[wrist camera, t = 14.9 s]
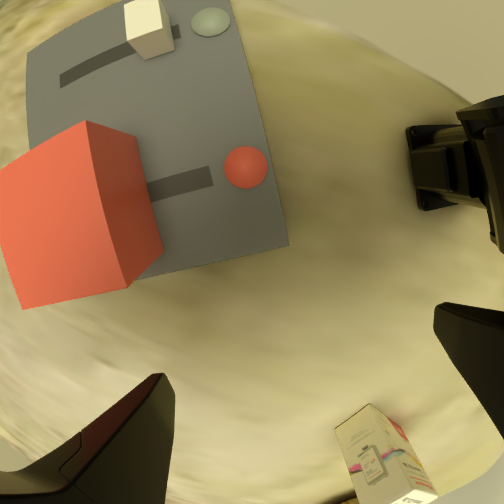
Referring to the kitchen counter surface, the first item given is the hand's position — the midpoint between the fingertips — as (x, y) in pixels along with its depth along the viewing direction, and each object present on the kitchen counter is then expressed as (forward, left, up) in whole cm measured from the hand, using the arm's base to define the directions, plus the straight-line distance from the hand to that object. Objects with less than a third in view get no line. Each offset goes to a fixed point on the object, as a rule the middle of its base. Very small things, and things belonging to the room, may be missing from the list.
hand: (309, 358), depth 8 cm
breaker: (+4, -16, -10) cm, 19 cm away
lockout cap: (+10, -6, -10) cm, 15 cm away
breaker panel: (+7, -11, -12) cm, 18 cm away
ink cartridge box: (-7, +22, -12) cm, 26 cm away
